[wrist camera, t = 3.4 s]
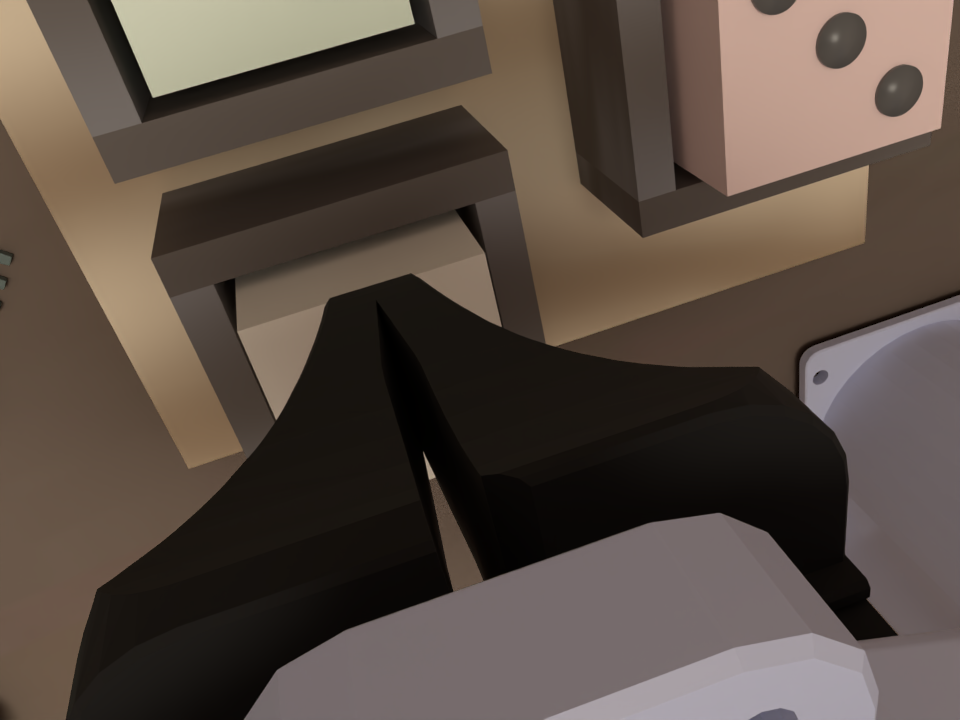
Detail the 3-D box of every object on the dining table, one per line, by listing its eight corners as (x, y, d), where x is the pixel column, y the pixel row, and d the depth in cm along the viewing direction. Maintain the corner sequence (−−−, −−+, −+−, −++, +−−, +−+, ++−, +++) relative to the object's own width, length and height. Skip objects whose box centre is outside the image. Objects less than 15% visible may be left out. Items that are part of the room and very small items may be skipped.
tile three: (847, 94, 18) (944, 129, 15) (659, 152, 17) (730, 198, 15) (855, -138, 15) (972, -140, 13) (638, -78, 15) (718, -68, 13)
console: (841, 229, 24) (958, 297, 20) (190, 445, 22) (183, 566, 18) (867, -490, 16) (1073, -605, 12) (-178, -254, 13) (-334, -302, 10)
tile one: (491, 374, 19) (530, 447, 17) (306, 437, 19) (319, 521, 16) (447, 199, 17) (486, 255, 14) (234, 265, 16) (237, 334, 14)
